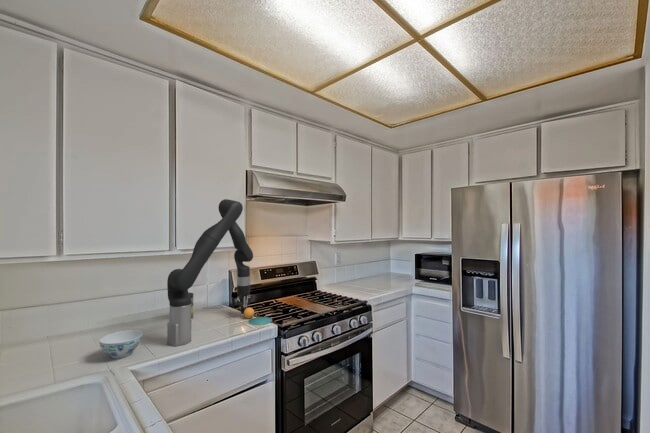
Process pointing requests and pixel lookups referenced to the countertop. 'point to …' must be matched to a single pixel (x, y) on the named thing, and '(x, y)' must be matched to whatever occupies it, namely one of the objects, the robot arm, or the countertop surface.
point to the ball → (248, 312)
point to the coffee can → (191, 304)
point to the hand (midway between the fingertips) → (243, 313)
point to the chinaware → (120, 343)
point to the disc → (260, 320)
